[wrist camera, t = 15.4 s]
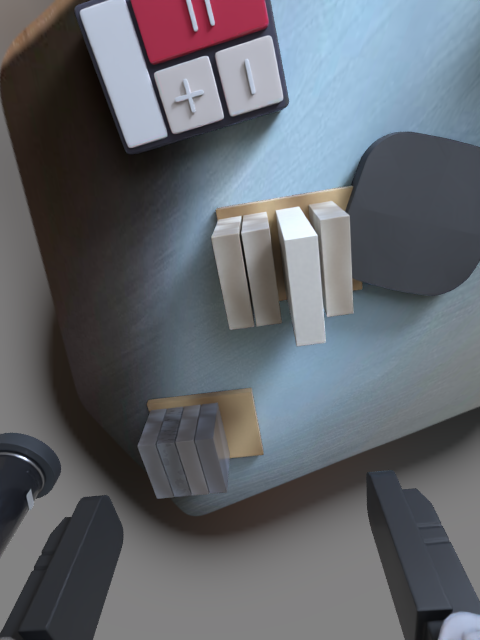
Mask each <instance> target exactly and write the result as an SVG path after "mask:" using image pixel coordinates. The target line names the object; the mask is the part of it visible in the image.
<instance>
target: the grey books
mask: <svg viewBox="0 0 480 640" xmlns="http://www.w3.org/2000/svg"><path fill="white" fill-rule="evenodd" d="M147 407H148V410H149V416H148V419H147V422H146V424H145V427H144V430H143V432H142V435H141V438H140V440H139V443H138V446H137V447H138V450H139V452H140V455H141V458H142V460H143V463H144V465H145V468H146V471H147V473H148V476H149V478H150V481H151V484H152V486H153V489H154V492H155V494H156V497H157V499H159V498H171V497H174V496H175V497H181V496H191V494H192V495H204V494H209V492H210V494H215V493H226V492H227V487H228V473H229V460H230V458H237V457H247V456H257V455H263V445H262V440H261V435H260V429H259V424H258V419H257V413H256V408H255V403H254V397H253V392H252V388H245V389H236V390H228V391H219V392H211V393H202V394H194V395H185V396H177V397H168V398H160V399H151V400H148V402H147Z"/></svg>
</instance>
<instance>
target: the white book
mask: <svg viewBox="0 0 480 640" xmlns="http://www.w3.org/2000/svg"><path fill="white" fill-rule="evenodd" d="M276 219H277V227H278V235H279V243H280V251H281V259H282V267H283V275H284V283H285V291H286V296H287V301H288V306H289V311H290V316H291V320H292V325H293V330H294V335H295V340H296V345H297V346H304V345H312V344H320V343H326V336H325V324H324V311H323V299H322V286H321V274H320V261H319V248H318V236H317V234H316V232H315V231H314V229H313V228H312V226H311V225H310V223H309V221H308V220H307V218H306V217H305V215H304V213H303V212H302V210H301V209H300V207H293V208H287V209H281V210H276Z"/></svg>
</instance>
